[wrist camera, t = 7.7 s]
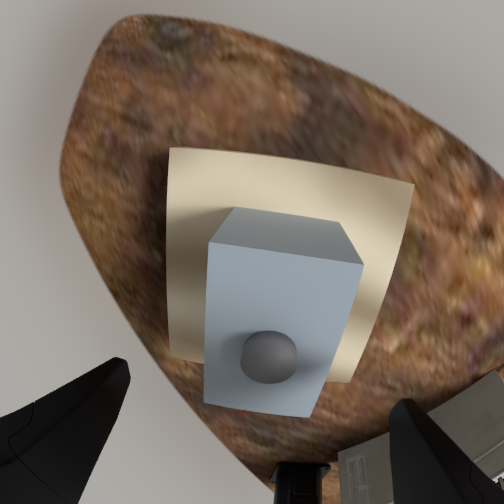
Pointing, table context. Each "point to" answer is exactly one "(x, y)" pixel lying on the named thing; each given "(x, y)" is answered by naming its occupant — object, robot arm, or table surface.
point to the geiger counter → (452, 423)
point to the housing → (275, 309)
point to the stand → (283, 201)
